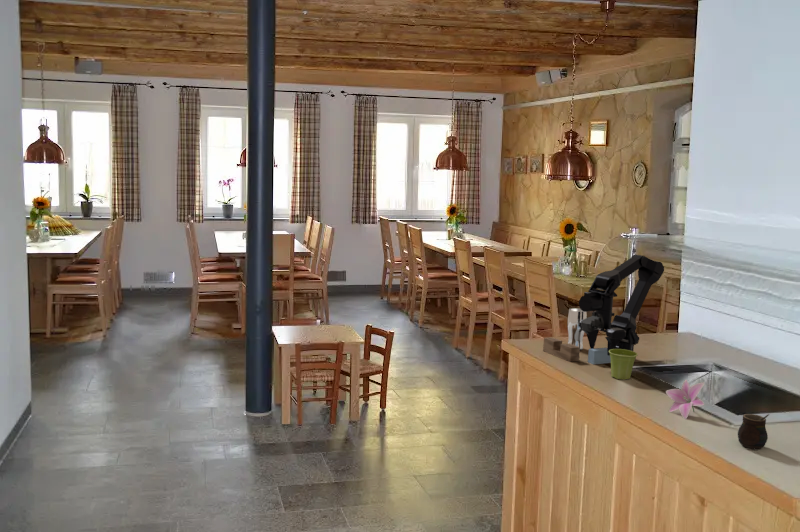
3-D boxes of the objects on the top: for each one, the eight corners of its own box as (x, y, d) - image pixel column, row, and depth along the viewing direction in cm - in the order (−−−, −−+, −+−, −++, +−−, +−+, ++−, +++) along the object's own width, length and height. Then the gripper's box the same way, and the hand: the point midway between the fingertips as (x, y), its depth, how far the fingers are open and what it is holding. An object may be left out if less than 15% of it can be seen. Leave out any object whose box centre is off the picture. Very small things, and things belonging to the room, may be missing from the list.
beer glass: (587, 350, 308) (590, 311, 306) (572, 350, 305) (575, 311, 303) (577, 345, 314) (580, 307, 312) (562, 346, 311) (565, 308, 309)
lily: (663, 408, 243) (657, 383, 239) (700, 395, 242) (695, 370, 238) (679, 433, 232) (673, 408, 228) (718, 419, 232) (713, 394, 227)
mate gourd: (744, 439, 215) (748, 403, 214) (772, 448, 210) (777, 411, 208) (731, 445, 211) (735, 408, 209) (759, 454, 205) (764, 416, 204)
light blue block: (605, 360, 293) (606, 347, 292) (610, 363, 290) (611, 349, 289) (587, 362, 289) (588, 348, 289) (593, 364, 287) (594, 351, 286)
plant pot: (635, 375, 274) (637, 350, 273) (635, 382, 265) (637, 357, 264) (606, 372, 277) (609, 347, 276) (606, 379, 268) (608, 353, 267)
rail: (551, 350, 305) (552, 337, 304) (578, 360, 291) (579, 347, 290) (542, 350, 303) (543, 337, 302) (569, 361, 289) (571, 348, 288)
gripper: (569, 305, 292) (565, 347, 294) (603, 316, 275) (600, 360, 277) (593, 304, 297) (590, 345, 299) (628, 314, 280) (625, 358, 282)
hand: (600, 352), depth 289 cm, fingers open, 9 cm apart
